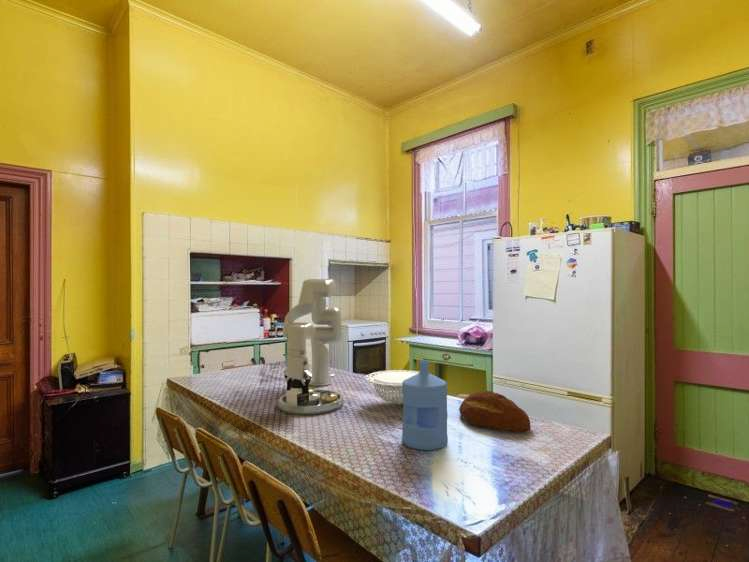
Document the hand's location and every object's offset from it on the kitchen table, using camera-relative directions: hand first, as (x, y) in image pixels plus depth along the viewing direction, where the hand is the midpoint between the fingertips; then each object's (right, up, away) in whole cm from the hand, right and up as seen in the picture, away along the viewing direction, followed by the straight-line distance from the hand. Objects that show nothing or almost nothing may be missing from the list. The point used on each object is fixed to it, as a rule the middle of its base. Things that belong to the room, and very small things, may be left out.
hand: (297, 391), depth 183 cm
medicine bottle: (0, -7, 0) cm, 7 cm away
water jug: (+51, -7, -39) cm, 65 cm away
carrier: (+5, -8, +6) cm, 11 cm away
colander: (+45, -8, +6) cm, 46 cm away
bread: (+80, -8, -19) cm, 83 cm away
